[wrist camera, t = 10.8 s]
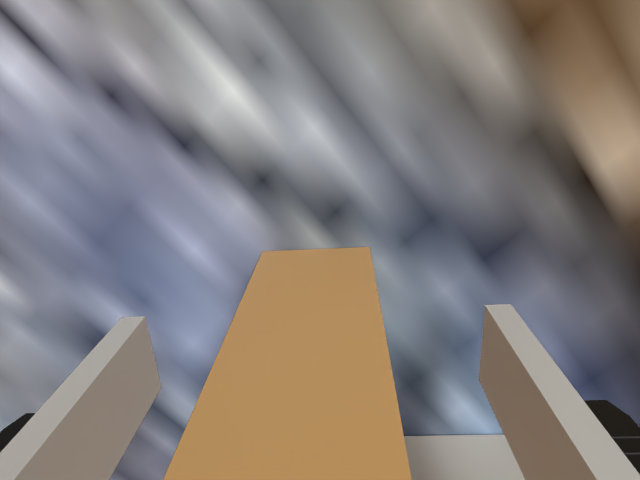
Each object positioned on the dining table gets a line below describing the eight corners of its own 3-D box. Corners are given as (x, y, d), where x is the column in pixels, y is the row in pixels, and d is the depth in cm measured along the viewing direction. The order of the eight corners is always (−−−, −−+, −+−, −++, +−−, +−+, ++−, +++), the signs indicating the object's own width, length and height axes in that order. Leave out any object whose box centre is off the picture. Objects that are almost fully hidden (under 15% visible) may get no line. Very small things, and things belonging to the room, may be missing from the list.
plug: (369, 246, 16) (466, 780, 4) (371, 339, 17) (447, 944, 5) (262, 251, 16) (37, 769, 4) (273, 342, 18) (128, 928, 6)
